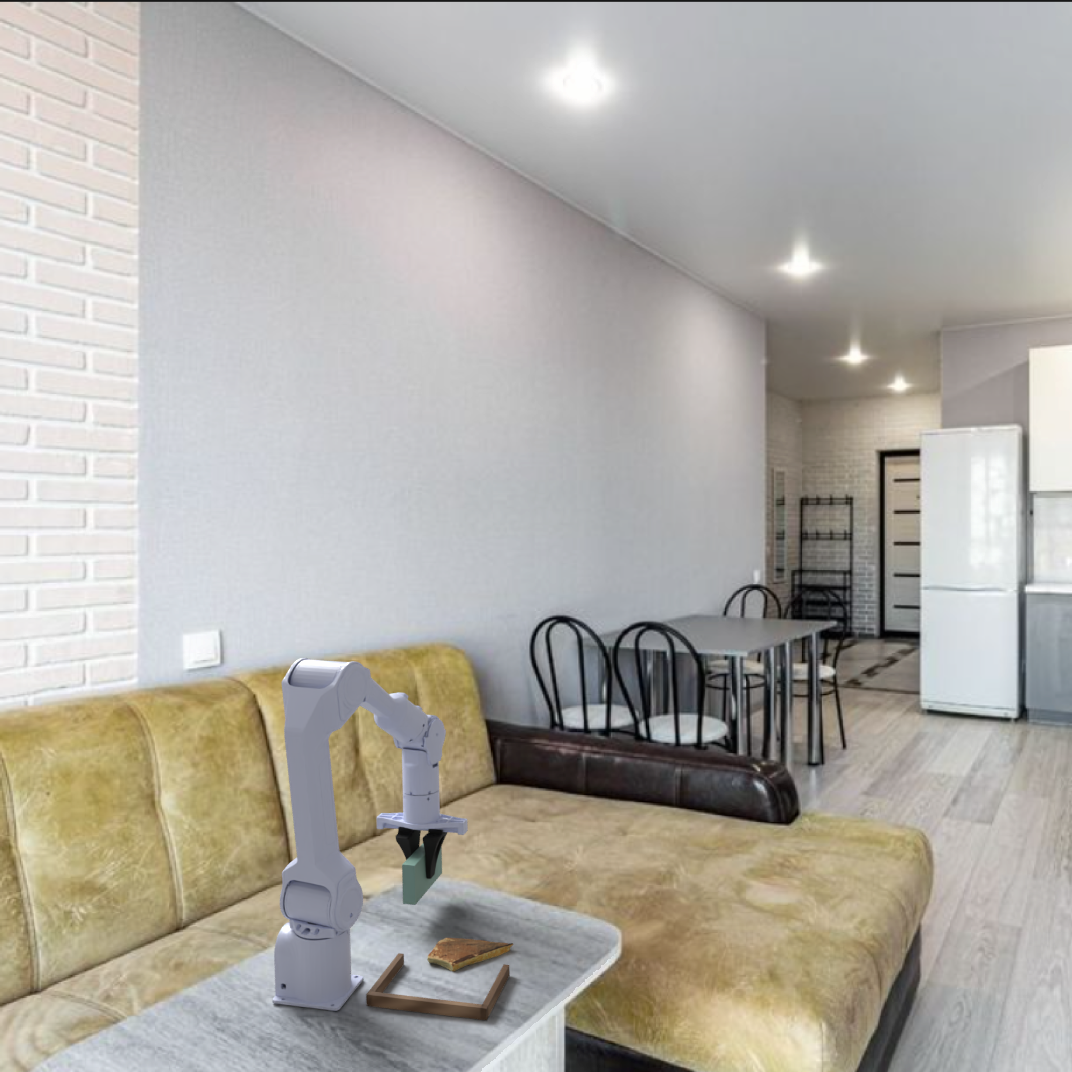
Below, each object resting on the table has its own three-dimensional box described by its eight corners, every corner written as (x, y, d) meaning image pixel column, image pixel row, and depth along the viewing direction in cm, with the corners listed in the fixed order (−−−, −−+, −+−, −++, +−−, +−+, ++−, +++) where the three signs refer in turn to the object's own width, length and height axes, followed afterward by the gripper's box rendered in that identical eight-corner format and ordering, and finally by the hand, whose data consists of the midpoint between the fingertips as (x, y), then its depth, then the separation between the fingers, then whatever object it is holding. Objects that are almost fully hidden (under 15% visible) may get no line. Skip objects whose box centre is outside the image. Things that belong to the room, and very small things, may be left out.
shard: (513, 953, 128) (513, 941, 128) (499, 980, 121) (498, 967, 121) (442, 946, 131) (442, 934, 131) (424, 972, 123) (423, 959, 123)
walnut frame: (366, 1005, 114) (366, 994, 114) (398, 963, 125) (398, 953, 125) (486, 1020, 110) (486, 1008, 110) (509, 975, 121) (509, 964, 121)
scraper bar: (415, 905, 134) (414, 865, 133) (402, 903, 134) (402, 864, 134) (442, 873, 145) (441, 836, 145) (430, 872, 146) (429, 836, 145)
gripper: (472, 784, 141) (474, 869, 142) (388, 780, 145) (390, 862, 145) (458, 798, 134) (460, 887, 135) (370, 793, 138) (372, 879, 138)
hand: (422, 875), depth 139 cm, fingers closed on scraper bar, 2 cm apart
